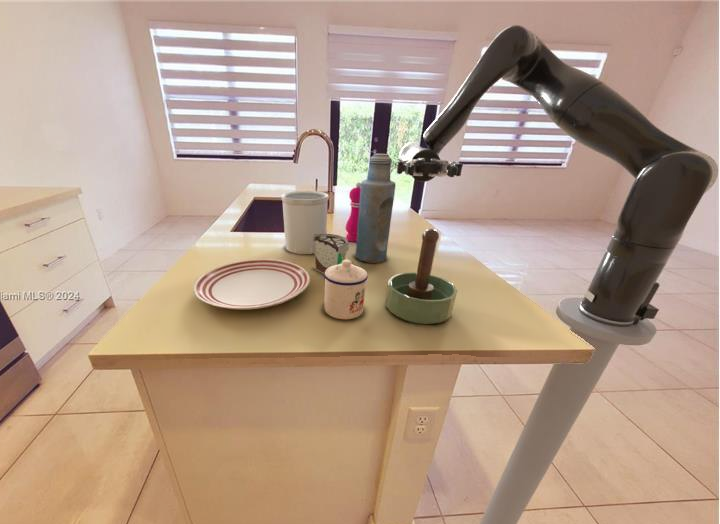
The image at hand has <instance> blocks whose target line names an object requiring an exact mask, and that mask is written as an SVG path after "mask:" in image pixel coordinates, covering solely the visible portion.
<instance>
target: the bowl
mask: <svg viewBox="0 0 720 524" xmlns="http://www.w3.org/2000/svg"><path fill="white" fill-rule="evenodd" d="M416 274H417V272H402V273H397V274H395V275H393V276H391V277H390V278H389V279H388V282H387V283H388V284H387V288H386V297H385V306H386V308H387V309H388V311H389V312H390V313H392V314H393V315H395V316H396V317H398V318H400V319H402V320H404V321H406V322H410V323H413V324H420V325H433V324H439V323H443V322H445V321H447V320H448V319H450V318H451V317H452V313H453V309H454V306H455V300H456V299H457V298H456V297H457V294H458V290H457V287H456V286H455V285H454V284H453V283H452V282H451V281H449V280H447V279H445V278H443V277H440V276H437V275H434V274H430V279H429V284H431V285H432V286H433V287H434V289H433V294H432V299H431V300H424V299H418V298H413V297H410V296H407V293H408V287H409V283H411V282H413V281H415V280H416Z"/></svg>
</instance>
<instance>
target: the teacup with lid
mask: <svg viewBox="0 0 720 524" xmlns="http://www.w3.org/2000/svg"><path fill="white" fill-rule="evenodd" d="M323 278H324V300H323V301H324V303H323V304H324V305H323V308H324V312H325V313H326V314H327V315H328V316H330V317H331V318H334V319H338V320H353V319H356V318H358V317H360V316H361V315H362V314H363V312H364V306H365V296H366V295H365V294H366V286H367V285H366V284H367V280H368V273H367V271H366V270H365V269H364V268H362V267H360V266H357V265H355V264H352V261H351V260H350V259H345V260H343V261H342V264H338V265H334V266H331V267H329V268H327V269H326V271H325V273H324V274H323Z"/></svg>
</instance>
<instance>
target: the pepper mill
mask: <svg viewBox="0 0 720 524" xmlns="http://www.w3.org/2000/svg"><path fill="white" fill-rule="evenodd" d="M360 191H361V182H356V184H355V187H353V188H351V189H350V191H349V193H348V194H349V196H348V197H349V200H350V201H349V202H350V204H349V206H350V215H349V217H348V220H347V221H346V224H345V230H346V234H345V235H346V237H345V238H346V239H347V242H353V243H356V242H357V230H358V217H359V204H360Z"/></svg>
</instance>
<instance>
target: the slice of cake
mask: <svg viewBox="0 0 720 524" xmlns="http://www.w3.org/2000/svg"><path fill="white" fill-rule="evenodd" d="M313 241H314V248H315V254H314V266H315V270H316V271H318V272H319V273H321V274H323V275H324V273H325V271H326V269H327V268H329V267H331V266H334V265H338V264H342V261H343V260H346V256H347V252H348V251H349V250H350V246H349V241H348V240H347V239H346V237H345V236H342V235H339V234H333V233H327V234H314V237H313Z"/></svg>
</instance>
